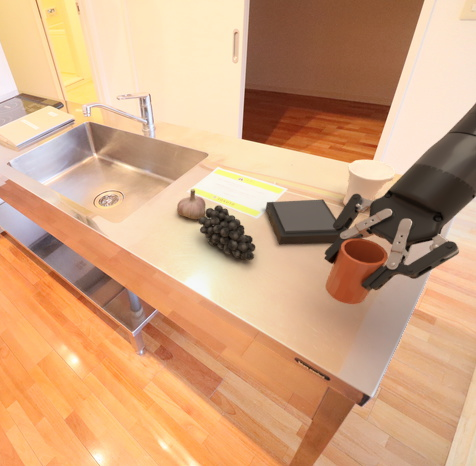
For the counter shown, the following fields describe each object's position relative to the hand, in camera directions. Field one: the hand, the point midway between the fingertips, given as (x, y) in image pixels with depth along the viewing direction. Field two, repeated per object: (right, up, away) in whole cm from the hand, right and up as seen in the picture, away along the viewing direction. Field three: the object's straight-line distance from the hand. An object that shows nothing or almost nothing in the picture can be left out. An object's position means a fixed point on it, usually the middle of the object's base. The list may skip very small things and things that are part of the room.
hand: (346, 274), depth 46 cm
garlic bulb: (-15, +11, +37) cm, 41 cm away
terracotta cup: (+2, -3, +3) cm, 5 cm away
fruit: (-9, +3, +26) cm, 28 cm away
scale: (+9, +8, +28) cm, 31 cm away
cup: (+25, +13, +32) cm, 42 cm away
